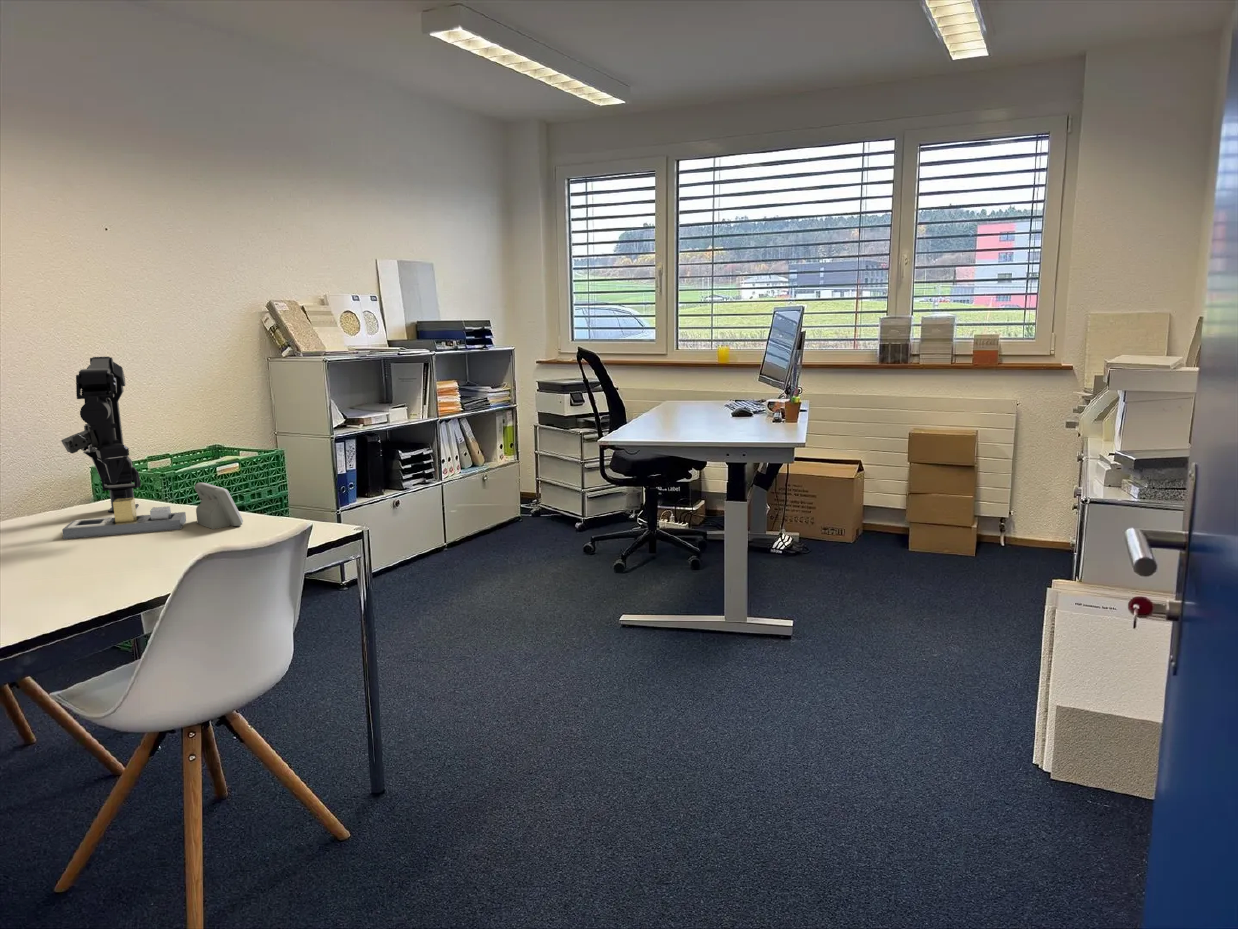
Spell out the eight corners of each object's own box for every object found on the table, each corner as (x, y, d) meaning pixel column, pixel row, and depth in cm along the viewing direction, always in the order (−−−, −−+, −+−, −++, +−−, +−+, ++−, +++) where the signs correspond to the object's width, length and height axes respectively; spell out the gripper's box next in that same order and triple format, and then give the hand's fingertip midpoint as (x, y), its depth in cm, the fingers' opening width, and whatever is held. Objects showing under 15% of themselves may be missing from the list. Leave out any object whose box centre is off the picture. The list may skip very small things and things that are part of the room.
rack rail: (74, 530, 208) (72, 519, 208) (186, 520, 217) (185, 510, 216) (63, 539, 200) (62, 528, 199) (180, 529, 209) (179, 518, 208)
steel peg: (155, 526, 212) (153, 507, 211) (172, 524, 214) (170, 506, 213) (152, 529, 209) (149, 511, 208) (169, 528, 210) (167, 509, 209)
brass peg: (120, 528, 210) (116, 498, 208) (137, 527, 211) (134, 497, 209) (116, 532, 206) (112, 502, 204) (134, 531, 207) (130, 500, 206)
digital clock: (245, 527, 211) (241, 487, 209) (207, 533, 205) (203, 492, 203) (229, 515, 223) (225, 477, 221) (193, 520, 217) (189, 482, 215)
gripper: (52, 419, 202) (61, 480, 205) (72, 427, 189) (81, 492, 192) (103, 415, 209) (111, 473, 213) (126, 422, 197) (133, 484, 200)
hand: (108, 480), depth 204 cm, fingers open, 9 cm apart
